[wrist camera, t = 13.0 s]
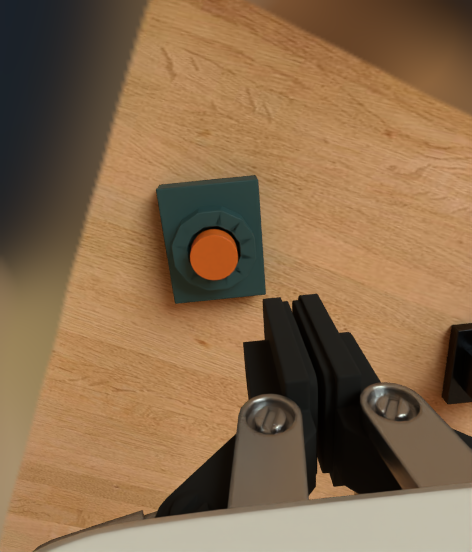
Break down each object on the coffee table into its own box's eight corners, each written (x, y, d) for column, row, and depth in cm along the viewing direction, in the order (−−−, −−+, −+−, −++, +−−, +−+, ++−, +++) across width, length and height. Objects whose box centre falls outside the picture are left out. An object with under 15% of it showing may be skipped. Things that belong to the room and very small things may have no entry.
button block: (159, 184, 32) (152, 193, 29) (255, 175, 32) (260, 182, 29) (177, 293, 36) (172, 313, 33) (263, 284, 36) (268, 304, 33)
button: (188, 231, 30) (186, 237, 29) (234, 226, 30) (235, 232, 29) (194, 274, 32) (193, 282, 30) (238, 269, 32) (239, 277, 30)
